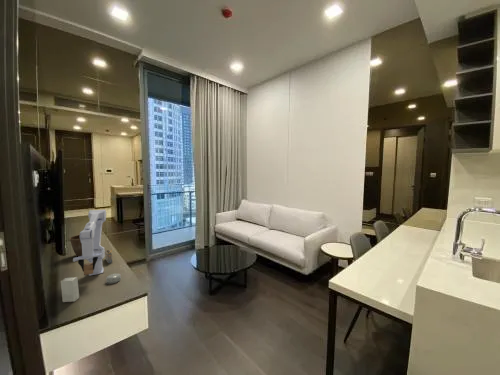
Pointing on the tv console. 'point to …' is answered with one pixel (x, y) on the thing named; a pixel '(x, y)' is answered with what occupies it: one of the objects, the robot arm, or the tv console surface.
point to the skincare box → (70, 289)
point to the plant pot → (76, 245)
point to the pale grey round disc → (113, 278)
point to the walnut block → (88, 268)
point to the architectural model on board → (108, 256)
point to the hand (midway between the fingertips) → (88, 270)
